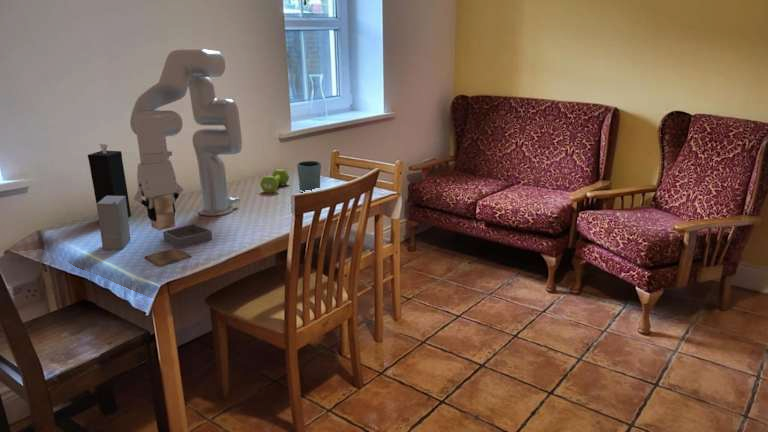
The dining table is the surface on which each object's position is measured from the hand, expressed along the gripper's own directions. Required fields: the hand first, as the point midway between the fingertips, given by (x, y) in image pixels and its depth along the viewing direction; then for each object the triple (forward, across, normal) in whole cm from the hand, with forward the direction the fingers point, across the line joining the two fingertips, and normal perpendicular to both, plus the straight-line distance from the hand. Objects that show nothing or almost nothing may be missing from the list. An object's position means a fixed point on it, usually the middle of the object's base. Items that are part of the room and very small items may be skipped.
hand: (162, 217), depth 170 cm
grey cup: (+13, -78, -27) cm, 84 cm away
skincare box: (+13, +6, -22) cm, 26 cm away
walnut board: (+13, 0, 0) cm, 13 cm away
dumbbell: (+13, -70, -42) cm, 83 cm away
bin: (+13, -12, -10) cm, 20 cm away
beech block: (+3, 0, 0) cm, 3 cm away
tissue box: (+13, -5, -51) cm, 53 cm away
